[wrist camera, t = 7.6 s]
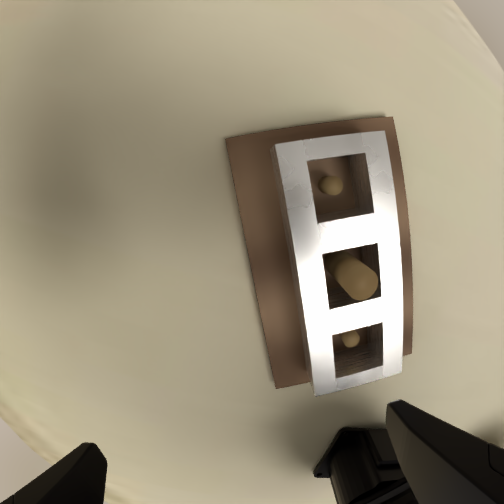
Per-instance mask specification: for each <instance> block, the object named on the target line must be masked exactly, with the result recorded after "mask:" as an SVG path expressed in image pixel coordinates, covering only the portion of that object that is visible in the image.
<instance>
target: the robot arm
mask: <svg viewBox="0 0 504 504" xmlns="http://www.w3.org/2000/svg"><path fill="white" fill-rule="evenodd" d="M386 428H387V429H372V428H350V427H345V428H342V429H340V430H339V432H338V434H337V435H336V437H335V439H334V440H333V442H332V443H331V445H330V447H329V448H328V450H327V451H326V453H325V455H324V456H323V458H322V459H321V461H320V462H319V464H318V465H317V467H316V468H315V470H314V472H313V474H314V477H317V478H330V480H331V484H332V487H333V491H334V494H335V498H336V502H337V504H504V449H503V448H500V447H498V446H496V445H493V444H491V443H489V444H488V442H487V441H484V440H482V439H480V438H478V437H476V436H474V435H472V434H469V433H467V432H465V431H463V430H461V429H459V428H457V427H455V426H453V425H451V424H449V423H447V422H445V421H443V420H441V419H439V418H437V417H435V416H433V415H431V414H429V413H427V412H425V411H423V410H421V409H419V408H417V407H415V406H413V405H411V404H409V403H407V402H405V401H403V400H400V399H399V400H396V401H393V402H390V403H388V404H387V409H386ZM106 474H107V460H106V458H105V457H104V455H103V454H102V452H101V451H100V449H99V448H98V446H97V445H96V444H95V443H88V442H85V443H82V444H81V445H79V446H78V447H77V448H76V449H74V450H73V451H72V452H70V453H69V454H68V455H66V456H65V457H64V458H62V459H61V460H60V461H58V462H57V463H56V464H54V465H53V466H52V467H50V468H49V469H48V470H46V471H45V472H44V473H42V474H41V475H39V476H38V477H37V478H36V479H34V480H33V481H31V482H30V483H28V484H27V485H26V486H24V487H23V488H22V489H20V490H19V491H17V492H16V493H15V494H14V495H12V496H10V497H9V498H8V499H6V500H4V501H3V502H1V503H0V504H103V502H104V493H105V483H106Z"/></svg>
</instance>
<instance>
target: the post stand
mask: <svg viewBox="0 0 504 504" xmlns="http://www.w3.org/2000/svg"><path fill="white" fill-rule="evenodd" d="M374 131H385V135H386V140H387V145H388V151H389V157H390V163H391V169H392V176H393V183H394V190H395V198H396V206H397V215H398V224H399V235H400V248H401V263H402V284H403V355H402V356H405V355H408V354H411V353H412V334H413V281H412V257H411V241H410V229H409V218H408V208H407V199H406V191H405V184H404V176H403V170H402V163H401V157H400V151H399V146H398V140H397V135H396V130H395V125H394V120H393V117H379V118H366V119H355V120H344V121H335V122H326V123H318V124H310V125H303V126H296V127H289V128H282V129H276V130H270V131H264V132H258V133H253V134H247V135H242V136H237V137H232V138H227V139H225V140H226V145H227V150H228V155H229V160H230V165H231V170H232V175H233V180H234V185H235V190H236V195H237V200H238V205H239V210H240V215H241V220H242V225H243V230H244V235H245V240H246V245H247V250H248V255H249V260H250V264H251V269H252V274H253V279H254V284H255V289H256V294H257V299H258V304H259V309H260V314H261V319H262V323H263V328H264V333H265V338H266V343H267V348H268V353H269V358H270V362H271V367H272V372H273V377H274V382H275V387H276V389H279V388H284V387H289V386H294V385H298V384H303V383H307V382H310V379H309V376H308V373H307V369H306V362H305V355H304V348H303V341H302V334H301V328H300V321H299V314H298V308H297V301H296V295H295V289H294V283H293V277H292V271H291V264H290V259H289V253H288V247H287V241H286V235H285V230H284V224H283V218H282V213H281V207H280V202H279V196H278V191H277V186H276V180H275V175H274V170H273V165H272V160H271V154H270V149H271V148H272V147H273V146H274V145H275V144H280V143H286V142H293V141H299V140H306V139H313V138H320V137H328V136H336V135H345V134H354V133H363V132H374ZM307 166H308V172H309V177H310V183H311V188H312V194H313V200H314V206H315V212H316V215H318V214H323V213H329V212H334V211H340V210H345V209H351V208H356V207H355V201H354V194H353V187H352V181H351V175H350V169H349V163H348V158H347V156H343V157H336V158H329V159H322V160H316V161H309V162H307ZM322 259H323V266H324V273H325V281H326V289H331V288H336V287H340V286H342V287H343V288H344V290H345V291H346V292H347V293H348V294H349V295H350V296H351V297H352V298H353V299H355V300H365V299H368V298H369V297H371V296H372V295H373V294H374V293H375V291H376V289H377V286H378V277H377V275H376V273H375V272H374V271H373V270H372V269H370V268H369V267H368V266H366V265H365V264H363V263H362V257H361V247H360V246H358V247H353V248H348V249H344V250H339V251H334V252H329V253H324V254H322ZM332 344H333V353H334V352H338V351H342V350H346V349H350V348H354V347H358V346H361V345H365V344H368V342H367V326H365V327H362V328H358V329H354V330H350V331H346V332H342V333H338V334H334V335H332Z"/></svg>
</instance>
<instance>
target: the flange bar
mask: <svg viewBox="0 0 504 504" xmlns="http://www.w3.org/2000/svg"><path fill="white" fill-rule="evenodd" d="M270 154H271V160H272V165H273V170H274V175H275V180H276V186H277V191H278V196H279V202H280V207H281V213H282V218H283V224H284V230H285V235H286V241H287V247H288V253H289V259H290V264H291V271H292V277H293V283H294V289H295V295H296V301H297V308H298V314H299V321H300V328H301V334H302V341H303V348H304V355H305V362H306V369H307V373H308V376H309V379H310V382H311V385H312V388H313V391H314V394H315V397H316V396H320V395H324V394H329V393H333V392H337V391H340V390H344V389H348V388H352V387H355V386H359V385H362V384H366V383H369V382H373V381H376V380H379V379H382V378H386V377H389V376H392V375H395V374H398V373H401V372H402V355H403V284H402V263H401V248H400V235H399V224H398V215H397V206H396V198H395V190H394V183H393V176H392V169H391V163H390V157H389V151H388V145H387V140H386V135H385V131H374V132H363V133H354V134H345V135H336V136H328V137H320V138H313V139H306V140H299V141H293V142H286V143H280V144H275V145H274V146H273V147H272V148H271V149H270ZM343 156H347V158H348V163H349V169H350V175H351V181H352V187H353V194H354V201H355V207H356V208H351V209H345V210H340V211H334V212H329V213H323V214H318V215H316V212H315V206H314V200H313V194H312V188H311V183H310V177H309V172H308V166H307V162H309V161H316V160H322V159H329V158H336V157H343ZM358 246H360V247H361V257H362V263H363V264H365V265H366V266H368V267H369V268H370V269H372V270H373V271H374V272H375V273H376V275H377V277H378V286H377V289H376V291H375V293H374V294H373V295H372V296H371V297H369V298H368V299H365V300H355V299H353V298H352V297H351V296H350V295H349V294H348V293H347V292H346V291H345V290H344V288H343V287H342V286H340V287H336V288H331V289H326V281H325V273H324V266H323V259H322V254H324V253H329V252H334V251H339V250H344V249H348V248H353V247H358ZM365 326H367V342H368V344H365V345H361V346H358V347H354V348H350V349H346V350H342V351H338V352H334V353H333V344H332V335H334V334H338V333H342V332H346V331H350V330H354V329H358V328H362V327H365Z"/></svg>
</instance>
